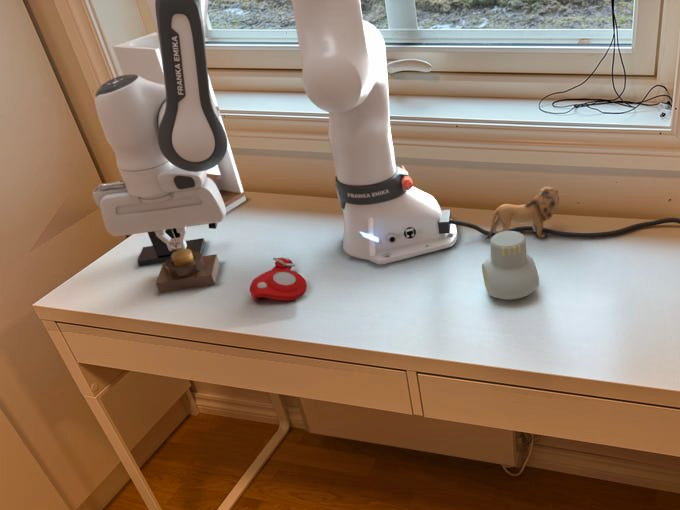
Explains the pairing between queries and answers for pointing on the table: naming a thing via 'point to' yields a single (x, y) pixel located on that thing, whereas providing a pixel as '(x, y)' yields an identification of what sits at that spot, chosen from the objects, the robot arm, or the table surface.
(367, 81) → the robot arm
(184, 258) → the bell button
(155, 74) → the display case
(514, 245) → the air freshener
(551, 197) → the lion figurine
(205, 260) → the block
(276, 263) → the tracker holder
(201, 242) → the black lever base
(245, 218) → the table surface
